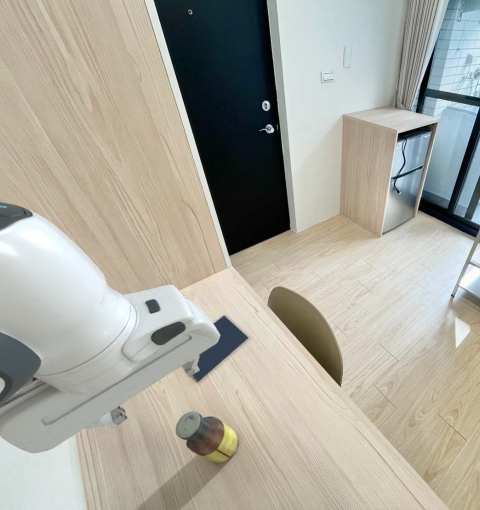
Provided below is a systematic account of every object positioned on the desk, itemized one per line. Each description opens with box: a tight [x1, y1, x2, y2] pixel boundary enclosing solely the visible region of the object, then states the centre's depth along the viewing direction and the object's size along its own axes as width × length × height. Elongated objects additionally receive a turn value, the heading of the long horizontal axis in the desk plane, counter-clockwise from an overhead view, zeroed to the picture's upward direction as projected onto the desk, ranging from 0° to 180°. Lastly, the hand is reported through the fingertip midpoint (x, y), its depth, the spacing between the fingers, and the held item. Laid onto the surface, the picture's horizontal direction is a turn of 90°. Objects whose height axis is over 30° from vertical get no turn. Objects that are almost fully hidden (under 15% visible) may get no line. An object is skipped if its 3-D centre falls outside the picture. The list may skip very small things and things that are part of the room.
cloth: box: [192, 315, 249, 383], centre depth 77 cm, size 16×12×1 cm
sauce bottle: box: [175, 411, 240, 464], centre depth 53 cm, size 7×6×20 cm
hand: (158, 392), depth 37 cm, fingers open, 8 cm apart
